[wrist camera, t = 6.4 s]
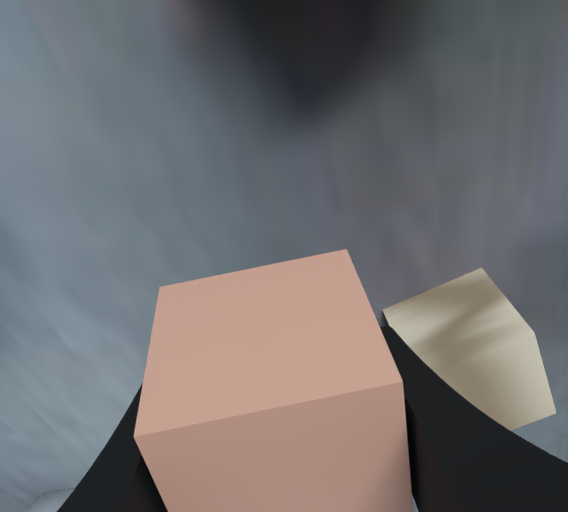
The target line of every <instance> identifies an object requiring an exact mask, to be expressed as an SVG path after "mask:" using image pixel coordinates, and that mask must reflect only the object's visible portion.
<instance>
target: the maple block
mask: <svg viewBox="0 0 568 512" xmlns="http://www.w3.org/2000/svg"><path fill="white" fill-rule="evenodd" d="M383 312H384V315H385V317H386V319H387V321H388V324H389V326H390V327H392V328H393V329H394V330H395V331H396V333H397V334H398V335H399V336H400V337H401V338H402V340H403V341H404V342H405V343H406V344H407V345H408V346H409V347H410V348H411V349H412V350H413V351H414V353H415V354H416V355H417V356H418V357H419V358H420V359H421V360H422V361H423V362H424V363H425V364H426V365H427V366H429V367H430V368H431V369H432V370H433V371H434V372H435V373H436V374H437V375H438V376H439V377H440V378H441V379H443V380H444V381H445V382H446V383H447V384H448V385H449V386H451V387H452V388H453V389H454V390H455V391H457V392H458V393H459V394H460V395H461V396H463V397H464V398H465V399H466V400H468V401H469V402H470V403H471V404H473V405H474V406H475V407H477V408H478V409H479V410H481V411H482V412H483V413H485V414H486V415H488V416H489V417H491V418H492V419H493V420H495V421H496V422H498V423H499V424H501V425H502V426H504V427H505V428H507V429H508V430H510V431H511V430H514V429H516V428H519V427H522V426H524V425H527V424H530V423H532V422H535V421H537V420H540V419H543V418H545V417H548V416H551V415H553V414H556V409H555V406H554V402H553V399H552V395H551V391H550V388H549V384H548V380H547V377H546V373H545V369H544V366H543V362H542V358H541V355H540V351H539V347H538V344H537V340H536V336H535V333H534V331H533V330H532V329H531V328H530V327H529V325H528V324H527V323H526V322H525V320H524V319H523V318H522V317H521V315H520V314H519V313H518V312H517V311H516V309H515V308H514V307H513V306H512V304H511V303H510V302H509V301H508V299H507V298H506V297H505V296H504V294H503V293H502V292H501V291H500V290H499V288H498V287H497V286H496V285H495V283H494V282H493V281H492V280H491V278H490V277H489V276H488V275H487V274H486V272H485V271H484V270H483V269H482V268H480V269H477V270H475V271H473V272H470V273H468V274H465V275H463V276H461V277H458V278H456V279H454V280H451V281H449V282H447V283H444V284H442V285H440V286H437V287H435V288H433V289H430V290H428V291H426V292H423V293H421V294H419V295H416V296H414V297H412V298H409V299H407V300H404V301H402V302H400V303H397V304H395V305H393V306H390V307H388V308H386V309H383Z"/></svg>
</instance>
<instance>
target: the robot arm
mask: <svg viewBox="0 0 568 512" xmlns="http://www.w3.org/2000/svg"><path fill="white" fill-rule="evenodd" d="M380 329H381V331H382V334H383V336H384V338H385V341H386V343H387V345H388V348H389V350H390V352H391V355H392V357H393V360H394V362H395V364H396V367H397V369H398V371H399V374H400V376H401V378H402V381H403V389H404V402H405V414H406V427H407V440H408V452H409V465H410V477H411V490H412V495H413V497H414V500H415V502H416V505H417V508H418V511H419V512H568V463H567V462H565V461H563V460H561V459H559V458H557V457H555V456H553V455H551V454H549V453H547V452H546V451H544V450H542V449H540V448H539V447H537V446H535V445H533V444H532V443H530V442H528V441H526V440H525V439H523V438H521V437H519V436H518V435H516V434H515V433H513V432H511V431H510V430H508V429H507V428H505V427H504V426H502V425H501V424H499V423H498V422H496V421H495V420H493V419H492V418H491V417H489V416H488V415H486V414H485V413H483V412H482V411H481V410H479V409H478V408H477V407H475V406H474V405H473V404H471V403H470V402H469V401H468V400H466V399H465V398H464V397H463V396H461V395H460V394H459V393H458V392H457V391H455V390H454V389H453V388H452V387H451V386H449V385H448V384H447V383H446V382H445V381H444V380H443V379H441V378H440V377H439V376H438V375H437V374H436V373H435V372H434V371H433V370H432V369H431V368H430V367H429V366H427V365H426V364H425V363H424V362H423V361H422V360H421V359H420V358H419V357H418V356H417V355H416V354H415V353H414V351H413V350H412V349H411V348H410V347H409V346H408V345H407V344H406V343H405V342H404V341H403V340H402V338H401V337H400V336H399V335H398V334H397V333H396V331H395V330H394V329H393V328H392V327H390V326H384V327H380ZM142 386H143V383H142V385H141V387H140V389H139V390H138V392H137V394H136V396H135V397H134V399H133V401H132V403H131V404H130V406H129V408H128V410H127V411H126V413H125V415H124V417H123V418H122V420H121V421H120V423H119V425H118V426H117V428H116V430H115V431H114V433H113V435H112V436H111V438H110V439H109V441H108V443H107V444H106V446H105V447H104V449H103V450H102V452H101V453H100V454H99V456H98V457H97V459H96V460H95V462H94V463H93V465H92V466H91V468H90V469H89V471H88V472H87V473H86V475H85V476H84V477H83V479H82V480H81V482H80V483H79V484H78V485H77V487H76V488H75V489H74V491H73V492H72V493H71V494H70V496H69V497H68V498H67V499H66V501H65V502H64V503H63V504H62V506H61V507H60V508H59V509H58V510H57V512H168V510H167V508H166V506H165V504H164V502H163V500H162V497H161V495H160V493H159V491H158V489H157V487H156V484H155V482H154V480H153V478H152V476H151V474H150V471H149V469H148V467H147V465H146V463H145V461H144V458H143V456H142V454H141V452H140V450H139V448H138V445H137V443H136V441H135V439H134V431H135V426H136V420H137V414H138V408H139V403H140V397H141V391H142Z"/></svg>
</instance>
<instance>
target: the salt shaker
mask: <svg viewBox="0 0 568 512" xmlns="http://www.w3.org/2000/svg"><path fill="white" fill-rule="evenodd" d="M74 489H75V488H73V489H67V490H61V491H55V492H49V493H43V494H42V496H41V497H40V498H39V499H38V500H37V501H36V502H35V503H34V505H33V506H32V507H31V508H30V509H29V510H28V511H27V512H57V510H58V509H59V508H60V507H61V506H62V504H63V503H64V502H65V501H66V499H67V498H68V497H69V496H70V494H71V493H72V492H73V491H74Z"/></svg>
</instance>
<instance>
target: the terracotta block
mask: <svg viewBox="0 0 568 512" xmlns="http://www.w3.org/2000/svg"><path fill="white" fill-rule="evenodd" d="M134 439H135V441H136V443H137V445H138V448H139V450H140V452H141V454H142V456H143V458H144V461H145V463H146V465H147V467H148V469H149V471H150V474H151V476H152V478H153V480H154V482H155V484H156V487H157V489H158V491H159V493H160V495H161V497H162V500H163V502H164V504H165V506H166V508H167V510H168V512H413V503H412V490H411V477H410V465H409V452H408V440H407V427H406V414H405V402H404V389H403V381H402V378H401V376H400V374H399V371H398V369H397V367H396V364H395V362H394V360H393V357H392V355H391V352H390V350H389V348H388V345H387V343H386V341H385V338H384V336H383V334H382V331H381V329H380V327H379V324H378V322H377V320H376V317H375V315H374V313H373V310H372V308H371V305H370V303H369V301H368V298H367V296H366V294H365V291H364V289H363V287H362V284H361V282H360V280H359V277H358V275H357V273H356V270H355V268H354V266H353V263H352V261H351V259H350V256H349V254H348V251H347V249H344V250H340V251H335V252H330V253H325V254H320V255H315V256H310V257H305V258H300V259H295V260H290V261H286V262H281V263H276V264H271V265H266V266H261V267H256V268H251V269H246V270H241V271H236V272H232V273H227V274H222V275H217V276H212V277H207V278H202V279H197V280H192V281H187V282H182V283H178V284H173V285H168V286H163V287H160V289H159V295H158V300H157V306H156V312H155V317H154V323H153V329H152V334H151V340H150V346H149V351H148V357H147V363H146V369H145V374H144V380H143V386H142V391H141V397H140V403H139V408H138V414H137V420H136V426H135V431H134Z"/></svg>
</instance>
